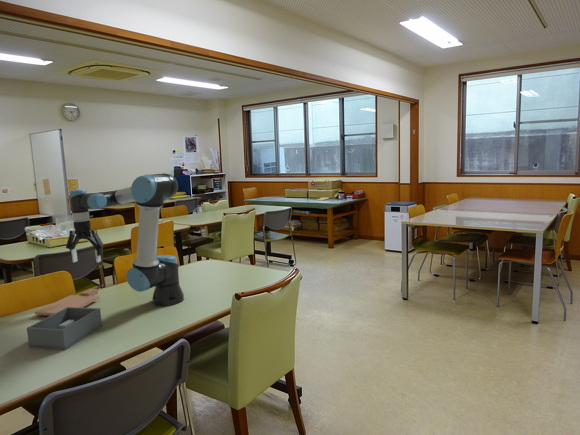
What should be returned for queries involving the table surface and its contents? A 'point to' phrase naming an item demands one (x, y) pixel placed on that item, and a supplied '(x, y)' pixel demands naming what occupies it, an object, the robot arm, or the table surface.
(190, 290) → the table surface
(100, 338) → the table surface
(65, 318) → the tub
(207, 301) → the table surface
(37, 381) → the table surface
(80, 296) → the lid
